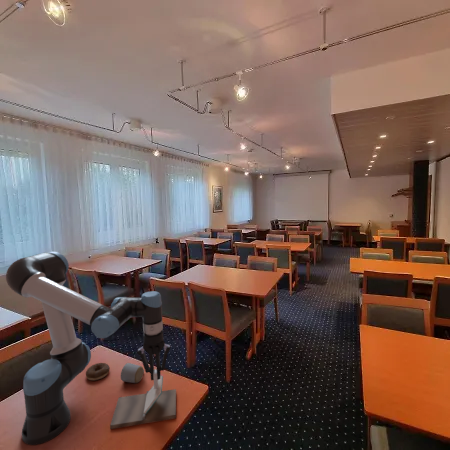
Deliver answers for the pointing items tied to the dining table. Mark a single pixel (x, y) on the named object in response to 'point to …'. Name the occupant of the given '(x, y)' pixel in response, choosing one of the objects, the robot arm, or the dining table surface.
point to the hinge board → (134, 409)
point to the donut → (97, 371)
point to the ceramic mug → (132, 373)
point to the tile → (153, 395)
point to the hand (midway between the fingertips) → (156, 386)
